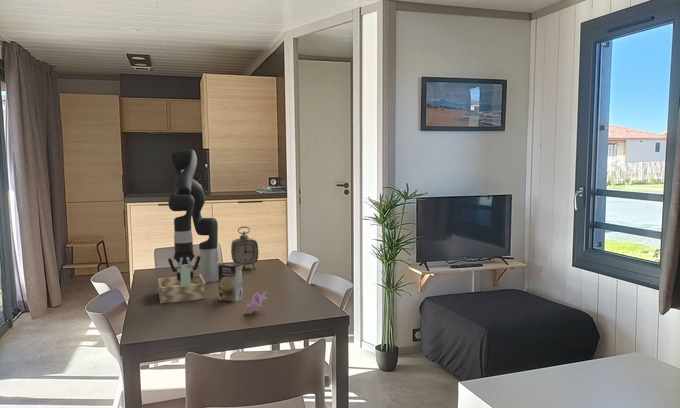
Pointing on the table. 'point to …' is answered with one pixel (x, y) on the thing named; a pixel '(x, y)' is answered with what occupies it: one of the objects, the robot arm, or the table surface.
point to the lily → (256, 302)
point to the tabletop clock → (244, 250)
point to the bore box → (181, 289)
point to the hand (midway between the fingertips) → (185, 280)
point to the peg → (185, 276)
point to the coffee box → (230, 281)
